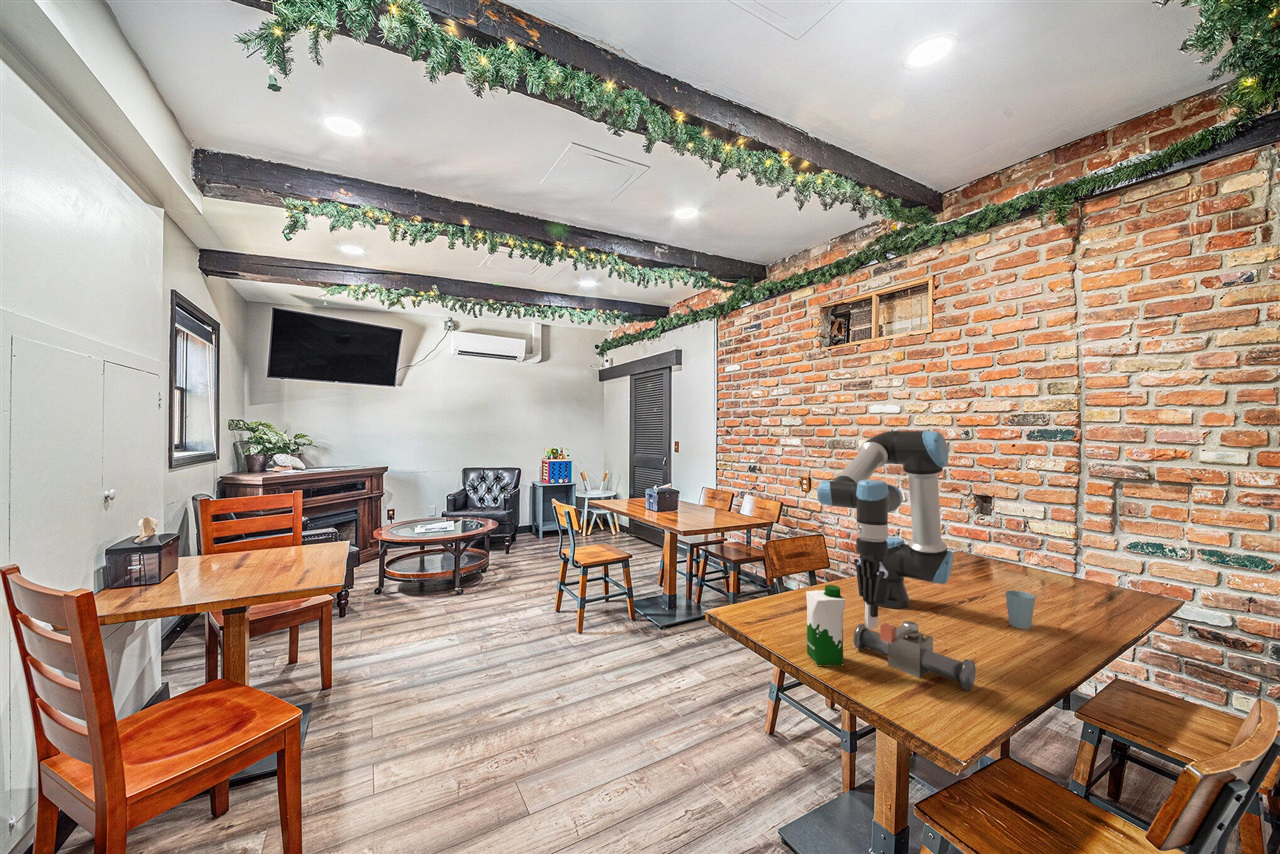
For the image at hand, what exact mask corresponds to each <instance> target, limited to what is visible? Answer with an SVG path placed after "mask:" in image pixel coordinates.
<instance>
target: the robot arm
mask: <svg viewBox="0 0 1280 854" xmlns="http://www.w3.org/2000/svg"><path fill="white" fill-rule="evenodd" d="M948 464H949V449H948V443H947V441H946V438H945V436H944V435H943V434H942V433H941V432H938V431H931V430H930V431H929V430H889V431H884V432H881V433H879V434H875V435H874V436H872V437H871V438H869V439H867V440H866V441H865V442H863V443H862V444H861V445H860V446H859V448H858V451H857V454H856V455H855V456H854V458H853V459H852V460H851V461H849V463H848V464H847V465H846V466H845V468H844V469H842V471H841V472H840V473H839V474H838V475H837V476H836V477H835V478H834V479H833V480H830V479H828V480H827V479H826V480H821V481H820V482H819V483H818V485H817V490H816V496H817V501H818V502H819V503H820V504H821V505H823V506H830V507H837V508H847V509H856V528H855V529H856V536H857V538H856V544H855V547H856V549H855V550H856V552H857V553H858V554H859V558H854V559H853V562H854V566H855V570H856V577H857V578H856V579H857V580H856V581H857V587H858V594H859V597H862V600H863V602H864V624H865V627H866V628H868V629H869V630H871V629H878V623H879V622H878V617H879V607H883V608H889V609H904V608H907V607H909V606H910V597H909V594H908V591H907V588H906V585H905V578H907V579H915V580H918V581H923V582H928V583H931V584H940V585H944V584H946V583H948V581H949V579H950V576H951V575H952V574H951V573H952V569H953V564H954V552H953V551H951V550H948V545H947V543H946V542H945V541H944V540H942V528H941V511H940V508H941V507H940V492H939V475H940V474H941V473H942V472H943V471H944V468H945V467H947V466H948ZM885 465H901V466H902V467H903V468H902V470H903V472H904V473H905V474H906V475H908V485H909V487H908V488H909V498H910V499H909V500H910V514H911V515H910V517H911V531H912V532H911V533H912V538H911V539H910V540H909V541H908V544H907V543H906V542H905V540H904V539H903V538H899V537H889V526H888V524H889V523H888V522H889V521H888V520H889V515H888V514H889V513H890V512H894V511H895V510H897V509H898V508H899V507H900V506H901V505H902V503H903V499H904V498H903V493H902V491H901V490H900V489H899V488H898V487H897V486H895V485H893V484H888V483H887V482H886V481H884V480H877V479H876V480H875V479H870V478H871V477H872V476H873V474H874V473H875V472H876V471H877V469H878V468H881V467H883V466H885Z"/></svg>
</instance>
